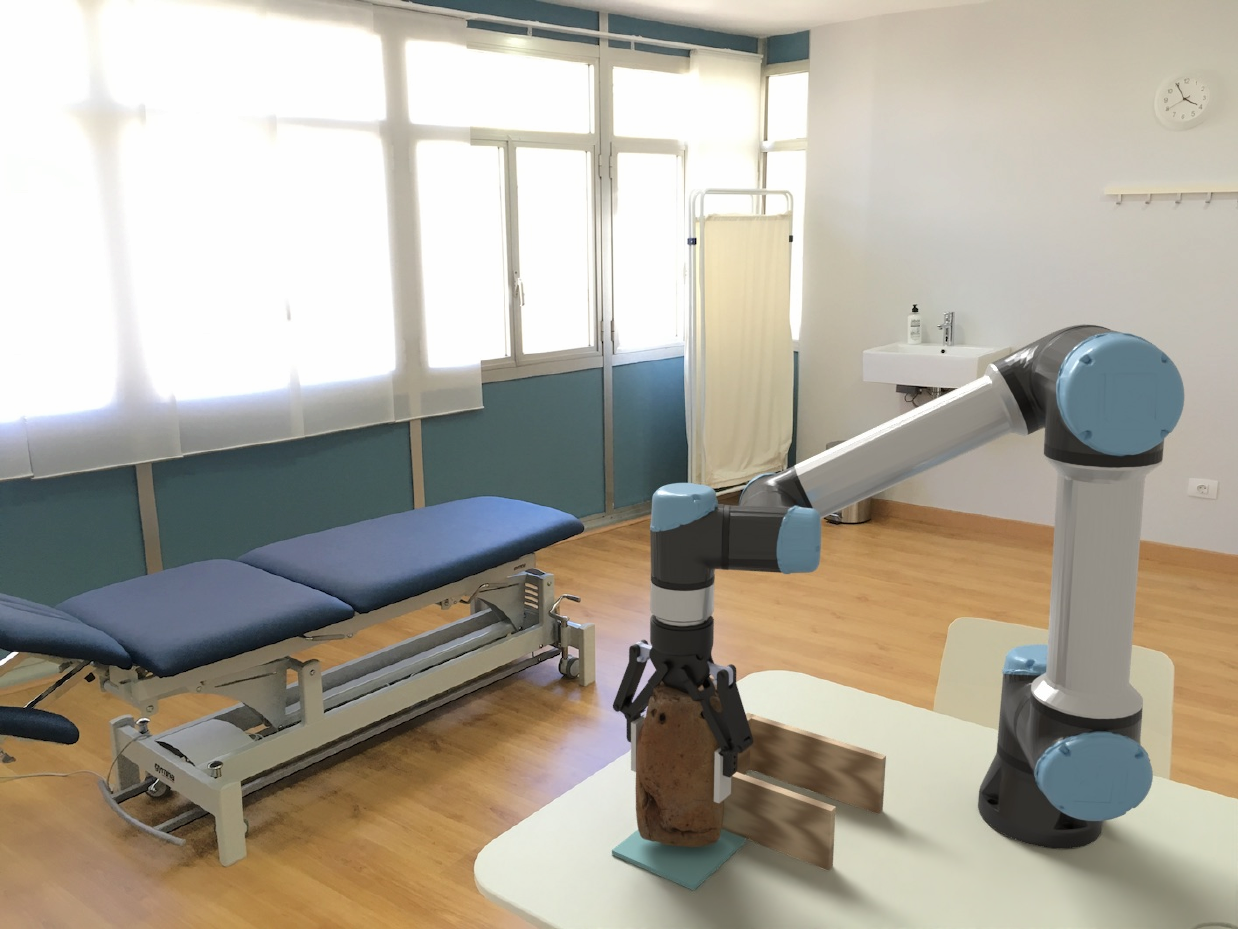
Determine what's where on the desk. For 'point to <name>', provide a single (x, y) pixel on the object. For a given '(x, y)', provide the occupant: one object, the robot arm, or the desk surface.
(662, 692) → the brown pitted rock
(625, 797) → the desk surface
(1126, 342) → the robot arm
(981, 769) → the desk surface
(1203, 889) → the desk surface
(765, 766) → the wooden u-shaped enclosure
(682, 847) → the mat
